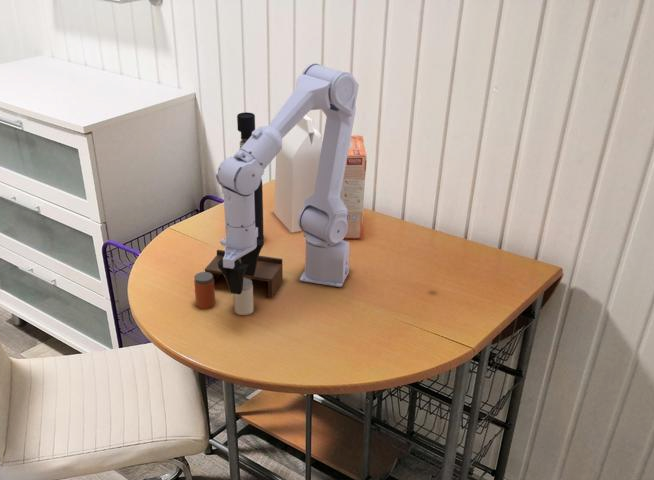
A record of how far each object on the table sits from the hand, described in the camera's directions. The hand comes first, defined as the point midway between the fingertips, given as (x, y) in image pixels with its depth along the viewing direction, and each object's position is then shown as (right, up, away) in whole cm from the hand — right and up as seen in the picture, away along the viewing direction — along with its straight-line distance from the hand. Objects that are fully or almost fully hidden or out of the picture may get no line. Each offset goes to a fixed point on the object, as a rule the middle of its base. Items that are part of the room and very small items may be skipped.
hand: (242, 283), depth 148 cm
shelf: (0, +1, +12) cm, 12 cm away
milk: (+13, +20, +39) cm, 46 cm away
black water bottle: (0, +13, +30) cm, 33 cm away
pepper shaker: (-8, -4, +6) cm, 11 cm away
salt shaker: (0, -5, +4) cm, 6 cm away
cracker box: (+24, +18, +35) cm, 46 cm away
